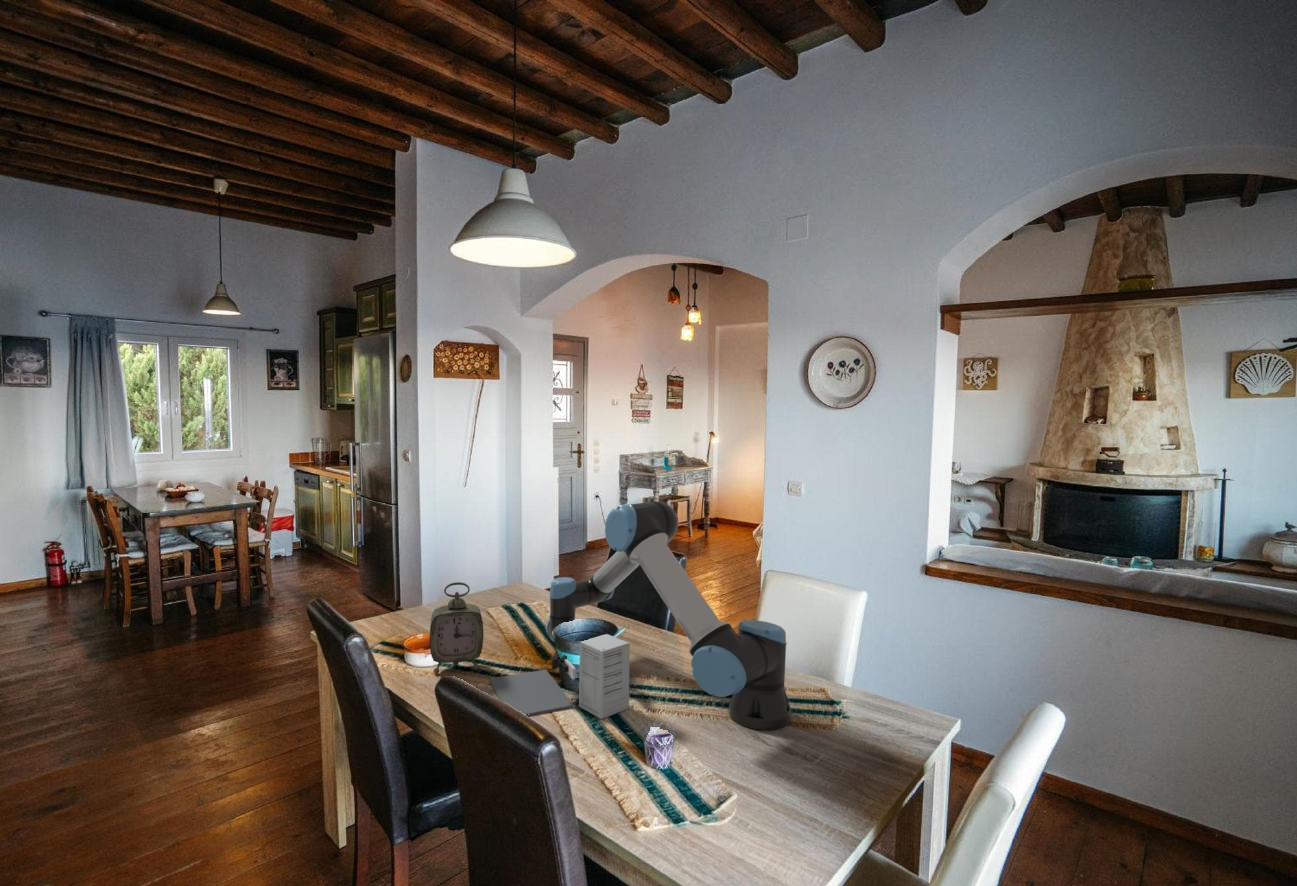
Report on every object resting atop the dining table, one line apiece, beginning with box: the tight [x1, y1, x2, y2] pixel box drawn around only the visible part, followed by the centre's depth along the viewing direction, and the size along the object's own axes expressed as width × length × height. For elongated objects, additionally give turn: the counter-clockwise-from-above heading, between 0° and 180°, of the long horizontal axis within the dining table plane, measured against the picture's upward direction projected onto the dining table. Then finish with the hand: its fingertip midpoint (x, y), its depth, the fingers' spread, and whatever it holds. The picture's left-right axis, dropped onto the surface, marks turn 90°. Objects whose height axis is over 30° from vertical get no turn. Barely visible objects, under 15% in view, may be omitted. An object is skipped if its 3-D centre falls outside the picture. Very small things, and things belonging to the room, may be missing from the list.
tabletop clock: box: [429, 581, 484, 675], centre depth 181 cm, size 14×9×25 cm, turn 108°
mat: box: [489, 669, 574, 717], centre depth 167 cm, size 24×16×1 cm, turn 26°
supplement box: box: [578, 633, 631, 720], centre depth 160 cm, size 10×9×17 cm
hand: (599, 669), depth 162 cm, fingers open, 13 cm apart
